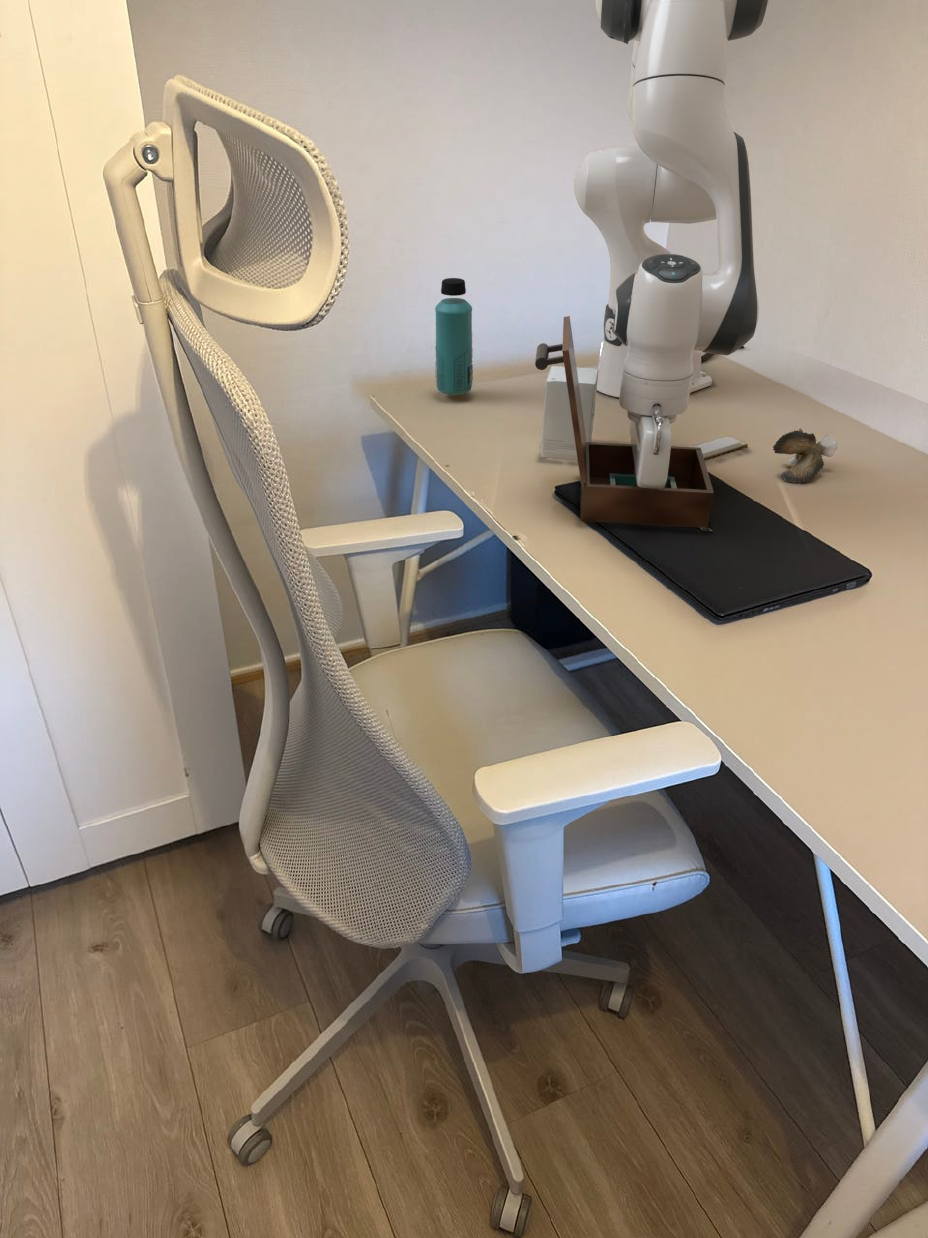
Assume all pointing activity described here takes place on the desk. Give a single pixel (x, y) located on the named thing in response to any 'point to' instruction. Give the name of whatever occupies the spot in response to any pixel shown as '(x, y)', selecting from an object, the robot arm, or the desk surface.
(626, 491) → the box
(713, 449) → the harmonica
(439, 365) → the beverage bottle
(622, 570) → the desk surface
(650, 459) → the robot arm
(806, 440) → the eagle figurine
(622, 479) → the dish
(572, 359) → the lid
